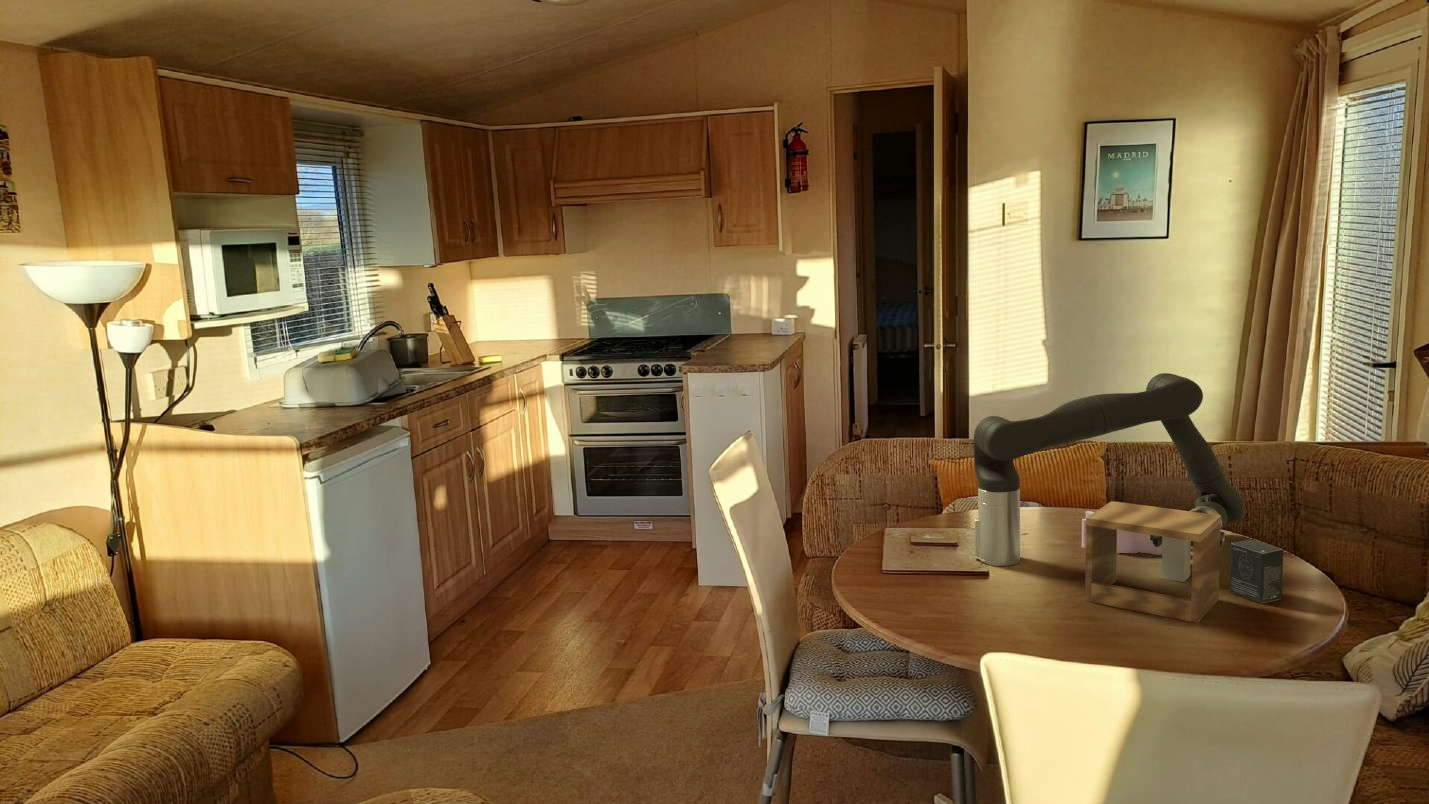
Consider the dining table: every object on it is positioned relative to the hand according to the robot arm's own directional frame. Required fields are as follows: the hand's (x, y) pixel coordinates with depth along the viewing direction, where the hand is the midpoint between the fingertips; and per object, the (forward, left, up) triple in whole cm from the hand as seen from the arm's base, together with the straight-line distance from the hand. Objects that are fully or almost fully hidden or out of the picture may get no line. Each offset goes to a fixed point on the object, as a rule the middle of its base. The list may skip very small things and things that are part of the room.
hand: (1176, 545), depth 216 cm
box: (+16, -3, -7) cm, 18 cm away
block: (0, 0, -7) cm, 7 cm away
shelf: (0, -16, -7) cm, 17 cm away
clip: (-15, +16, -7) cm, 23 cm away
